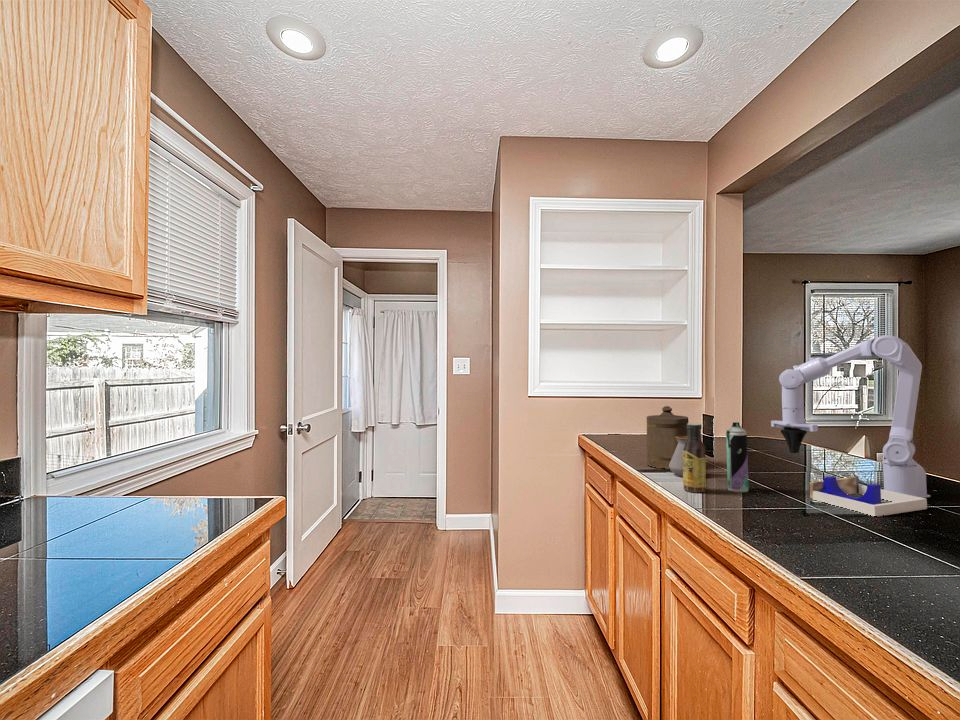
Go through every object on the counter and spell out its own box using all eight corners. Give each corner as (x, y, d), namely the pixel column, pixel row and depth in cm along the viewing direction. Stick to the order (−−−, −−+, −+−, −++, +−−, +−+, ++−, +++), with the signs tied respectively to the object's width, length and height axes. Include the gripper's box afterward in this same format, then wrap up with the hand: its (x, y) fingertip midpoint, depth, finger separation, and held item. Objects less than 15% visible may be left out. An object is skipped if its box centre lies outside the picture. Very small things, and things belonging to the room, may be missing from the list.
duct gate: (853, 492, 142) (852, 476, 143) (856, 493, 142) (856, 477, 142) (810, 498, 138) (809, 482, 138) (813, 499, 137) (812, 482, 137)
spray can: (740, 493, 145) (738, 423, 146) (723, 489, 150) (721, 422, 151) (752, 490, 148) (750, 422, 148) (735, 486, 153) (733, 420, 153)
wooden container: (690, 463, 191) (688, 405, 191) (689, 471, 177) (687, 408, 177) (649, 461, 197) (647, 404, 197) (645, 468, 183) (643, 407, 183)
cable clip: (821, 500, 137) (820, 478, 137) (830, 498, 139) (830, 476, 139) (871, 511, 126) (870, 487, 126) (881, 508, 128) (880, 484, 128)
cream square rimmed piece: (856, 492, 143) (855, 475, 143) (927, 508, 126) (926, 489, 126) (807, 499, 137) (807, 481, 138) (875, 516, 121) (874, 496, 121)
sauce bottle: (679, 488, 152) (677, 422, 153) (699, 487, 153) (697, 422, 153) (690, 494, 146) (688, 425, 146) (711, 493, 146) (708, 424, 147)
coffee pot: (666, 471, 177) (665, 428, 178) (701, 472, 175) (700, 428, 175) (677, 485, 156) (675, 437, 157) (717, 486, 154) (715, 437, 154)
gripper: (763, 407, 162) (764, 450, 162) (804, 410, 148) (805, 457, 148) (780, 406, 164) (781, 448, 164) (822, 409, 150) (824, 455, 150)
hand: (794, 452), depth 156 cm, fingers closed
